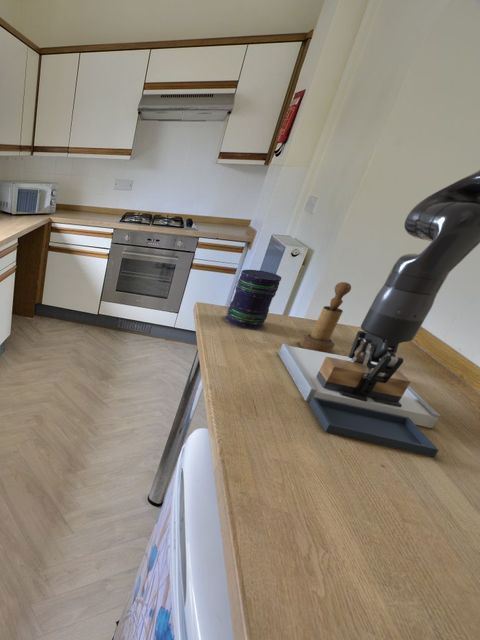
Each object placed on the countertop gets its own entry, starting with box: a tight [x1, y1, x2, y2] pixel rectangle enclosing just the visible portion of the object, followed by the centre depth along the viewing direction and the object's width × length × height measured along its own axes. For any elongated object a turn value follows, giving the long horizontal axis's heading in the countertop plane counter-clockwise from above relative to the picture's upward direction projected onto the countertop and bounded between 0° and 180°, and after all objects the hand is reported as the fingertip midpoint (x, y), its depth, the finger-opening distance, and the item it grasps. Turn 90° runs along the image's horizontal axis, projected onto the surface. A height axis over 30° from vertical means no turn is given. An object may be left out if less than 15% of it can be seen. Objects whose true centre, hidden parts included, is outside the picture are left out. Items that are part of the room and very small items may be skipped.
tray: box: [308, 397, 439, 458], centre depth 76 cm, size 15×10×2 cm
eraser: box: [316, 357, 412, 402], centre depth 83 cm, size 12×5×5 cm, turn 66°
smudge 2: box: [373, 397, 402, 407], centre depth 80 cm, size 4×1×1 cm, turn 66°
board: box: [278, 343, 441, 429], centre depth 90 cm, size 20×24×3 cm
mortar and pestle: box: [299, 281, 352, 354], centre depth 104 cm, size 7×6×18 cm
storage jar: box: [224, 269, 282, 330], centre depth 119 cm, size 10×10×15 cm
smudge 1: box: [340, 391, 368, 402], centre depth 81 cm, size 4×1×1 cm, turn 58°
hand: (355, 388), depth 84 cm, fingers closed on eraser, 5 cm apart
